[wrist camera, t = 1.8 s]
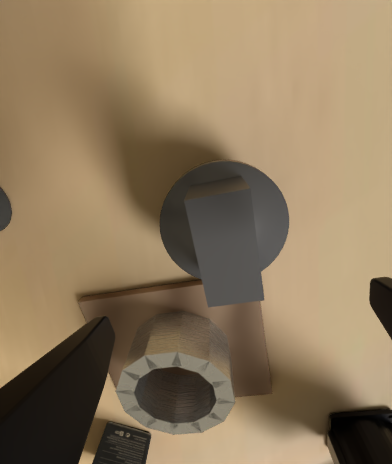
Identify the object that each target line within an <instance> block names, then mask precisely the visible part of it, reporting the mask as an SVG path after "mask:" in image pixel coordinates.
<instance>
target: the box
mask: <svg viewBox="0 0 392 464" xmlns="http://www.w3.org/2000/svg"><path fill="white" fill-rule="evenodd" d="M150 439H151V434H150V433H146V432H143V431H141V430H137V429H135V428H130V427H127V426H124V425H120V424H116V423H113V422H108V423H107V424H106V427H105V430H104V433H103V435H102V438H101V441H100V444H99V446H98V449H97V452H96V455H95V457H94V460H93V463H92V464H146V459H147V454H148V449H149V444H150Z"/></svg>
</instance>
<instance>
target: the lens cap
mask: <svg viewBox="0 0 392 464" xmlns="http://www.w3.org/2000/svg"><path fill="white" fill-rule="evenodd" d="M288 229H289V213H288V208H287V204H286V201H285V199H284V197H283V195H282V193H281V191H280V190H279V188H278V187H277V185H276V184H275V183H274V182H273V181H272V180H271V179H270V178H269V177H268V176H266V175H265V174H264V173H263V172H261V171H260V170H258V169H256V168H255V167H253V166H251V165H248V164H246V163H243V162H239V161H234V160H216V161H210V162H206V163H203V164H201V165H198V166H196V167H194V168H193V169H191V170H189V171H188V172H187V173H185V174H184V175H183V176H182V177H181V178H180V179H179V180H178V181H177V182H176V183H175V184H174V186H173V187H172V189H171V190H170V191H169V193H168V195H167V197H166V199H165V201H164V203H163V206H162V210H161V214H160V233H161V238H162V241H163V244H164V247H165V249H166V251H167V252H168V254H169V255H170V257H171V258H172V260H173V261H174V262H175V263H176V264H177V265H178V266H179V267H180V268H181V269H183V270H184V271H186V272H187V273H188V274H190V275H192V276H194V277H196V278H199V279H202V283H203V287H204V292H205V296H206V301H207V305H208V308H209V307H216V306H224V305H231V304H239V303H247V302H254V301H262V300H264V293H263V285H262V277H261V271H263V270H264V269H265V268H266V267H268V266H269V265H270V264H271V263H272V262H273V261H274V260H275V258H276V257H277V256H278V255H279V253H280V251H281V250H282V248H283V246H284V243H285V241H286V238H287V234H288Z"/></svg>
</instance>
